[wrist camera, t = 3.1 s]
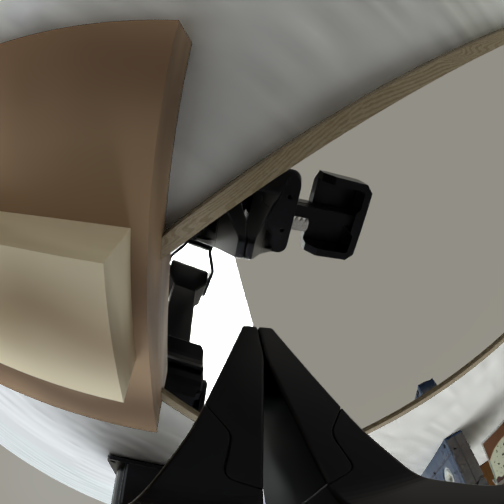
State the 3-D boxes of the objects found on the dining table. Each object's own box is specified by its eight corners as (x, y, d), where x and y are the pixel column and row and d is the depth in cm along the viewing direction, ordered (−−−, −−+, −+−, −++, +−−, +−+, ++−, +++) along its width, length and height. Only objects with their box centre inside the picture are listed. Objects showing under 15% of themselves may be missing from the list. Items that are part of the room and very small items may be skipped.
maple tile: (136, 359, 10) (123, 402, 8) (-33, 308, 8) (-55, 334, 6) (130, 228, 7) (103, 263, 6) (-58, 204, 6) (-90, 223, 4)
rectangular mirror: (517, 21, 6) (72, 307, 12) (529, 20, 5) (63, 320, 11) (558, 268, 14) (282, 457, 20) (565, 274, 13) (284, 467, 19)
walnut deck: (162, 394, 14) (156, 432, 12) (13, 354, 13) (-3, 382, 11) (191, 43, 7) (178, 20, 5) (-22, 67, 6) (-59, 68, 4)
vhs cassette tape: (431, 472, 30) (448, 517, 21) (415, 480, 31) (431, 525, 22) (464, 426, 22) (495, 488, 13) (444, 437, 23) (473, 503, 14)
